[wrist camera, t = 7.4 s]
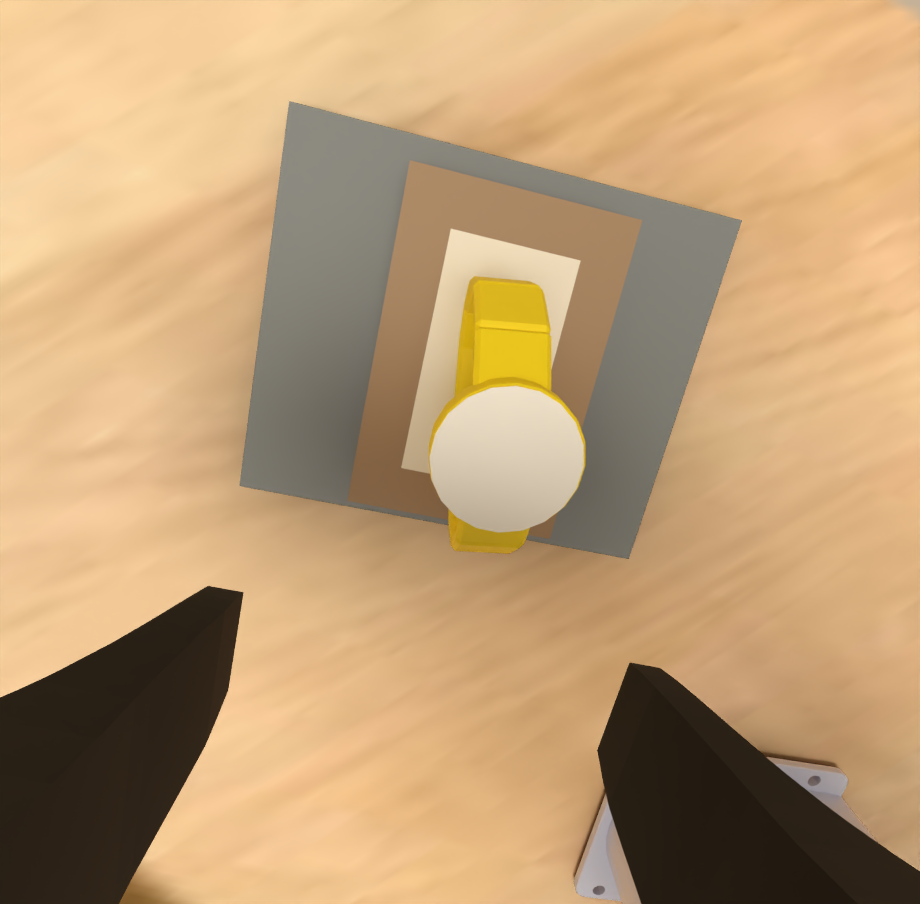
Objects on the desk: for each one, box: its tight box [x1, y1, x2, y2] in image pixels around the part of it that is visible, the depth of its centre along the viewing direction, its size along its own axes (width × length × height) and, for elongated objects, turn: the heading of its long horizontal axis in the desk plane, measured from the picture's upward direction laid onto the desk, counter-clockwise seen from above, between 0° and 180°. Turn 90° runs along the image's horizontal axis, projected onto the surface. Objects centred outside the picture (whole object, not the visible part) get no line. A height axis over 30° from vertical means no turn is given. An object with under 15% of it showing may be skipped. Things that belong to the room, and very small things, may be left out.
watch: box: [429, 276, 585, 554], centre depth 13 cm, size 6×3×6 cm, turn 175°
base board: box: [240, 101, 742, 559], centre depth 17 cm, size 13×11×3 cm
